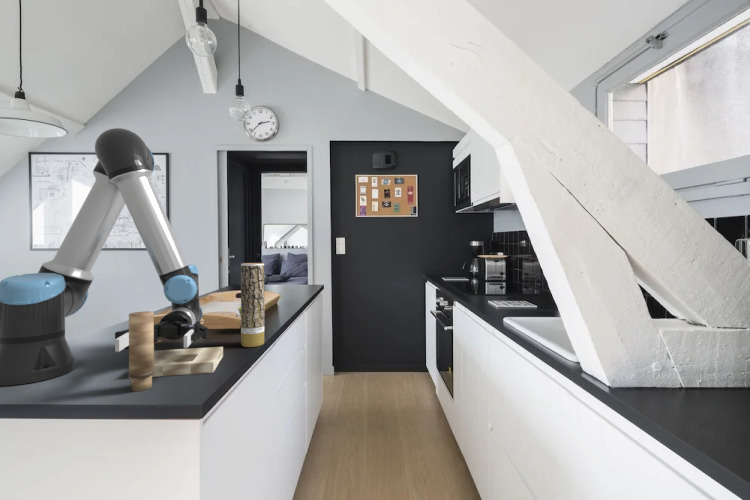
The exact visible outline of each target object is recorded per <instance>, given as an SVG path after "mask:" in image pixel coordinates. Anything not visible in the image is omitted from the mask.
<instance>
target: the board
mask: <svg viewBox="0 0 750 500" xmlns="http://www.w3.org/2000/svg"><path fill="white" fill-rule="evenodd" d="M223 357H224V346H215V347H211V346H210V347H197V348H195V347H194V348H193V347H192V348H178V349H175V348H174V349H162V350H161V349H160V350H157V349H156V350H154V374H152V378H154V377H169V376H183V375H185V376H186V375H195V374H209V373H210V374H211V373H214V372H215V371H216V369H217V367H218V366H219V363H220V362H221V360H222V359H223ZM128 379H131V378H130V377H129V376H128Z"/></svg>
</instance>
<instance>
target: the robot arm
mask: <svg viewBox="0 0 750 500" xmlns="http://www.w3.org/2000/svg"><path fill="white" fill-rule="evenodd" d="M94 152H95V155H96V158H97V160H98V161H97V163H96V165H94V166H95V167H94V169H93V170H92V174H93V176H94V178H95V181H94V183H93V184H92V187H91V189H90V190H89V192H88V194H87V196H86V198H85V200H84V201H83V203H82V205H81V207H80V209H79V211H78V213H77V215H76V217H75V218H74V220H73V222H72V224H71V226H70V227H69V229H68V232H67V233H66V235H65V237H64V239H63V241H62V242H61V245H60V246H59V248H58V249H57V252H56V254H55V256H54V257H53V259H51V260H49V261H46V262H43V263H42V264H41V266H40V268H39V270H38V272H33V273H23V274H21V275H20V274H18V275H12V276H8V277H5V278H3V279H2V280H0V386H3V387H5V386H17V385H25V384H32V383H37V382H41V381H46V380H50V379H51V380H52V379H54V378H57V377H60V376H63V375H66V374H68V373H70V372H72V371H73V370H75V357H74V355H73V352H72V350H71V348H70V346H69V343H68V341H67V339H66V318H67V317H71V316H73V315H74V314H76V313H78V311H79V310H80V309H82V308H83V307H84V306H85V304H86V302H87V300H88V296H89V288H90V286H91V285H92V283H93V281H94V276H93V275H92V272H91V270H92V269H93V266H94V265H95V264H96V261H97V259H98V257H99V255H100V253H101V252H102V249H103V248H104V246H105V244H106V242H107V239H108V238H109V236H110V235H111V232H112V230H113V228H114V226H115V224H116V223H117V220H118V218H119V217H120V215H121V213H122V211H123V209H124V207H125V206H126V208H127V209H128V212H129V215H130V217H131V219H132V221H133V223H134V225H135V228H136V230H137V232H138V233H139V234H138V235H139V236H140V239H141V241H142V242H143V245H144V247H145V250H146V251H147V254H148V256H149V258H150V260H151V262H152V264H153V266H154V270H155V271H156V273H157V275H158V278H159V280H160V283H161V285H162V287H163V294H164V296H165V299H167V301H169V302H171V311H169V312H168V313H167V314H165V315H164V316H163V317H162V318H161V319H160V321H159V322H158V323H154V339H159V338H164V339H166V340H169V341H178V340H181V339H183V349H189V347H190V346H191V344H193V342H196V341H199V340H200V338H201V339H204V340H206V339H208V338H209V328H208V327H207V326H206V325H203V324H202V323H201V320H202V318H203V314H204V311H203V308H202V307H201V306H200V303H201V302H200V293H199V290H200V286H199V270H198V266H197V265H195V264H188V262H187V260H186V257H185V255H184V252H183V250H182V248H181V245H180V244H179V242H178V239H177V237H176V234H175V233H174V230H173V229H172V225H171V223H170V220H169V218H168V216H167V214H166V212H165V210H164V208H163V205H162V203H161V200H160V199H159V196H158V193H157V191H156V189H155V186H154V184H153V182H152V180H151V178H150V177H151V176H152V173H153V172H154V168H155V158H154V154H153V153H152V151H151V149H150V148H149V147H148V146H147V145H146V143H145V142H144V140H143V139H142V138H141V136H139V135H138V134H136V133H135V132H133V131H131V130H129V129H126V128H120V127H119V128H118V127H114V128H110V129H107V130H105V131H103V132H101V134H100V135H99V136H98V137H97V138H96V140H95V144H94ZM128 345H129V328H127V329H122V330H119V331H115V332H114V352H115V353H120V352H121V351H122V350H124V348H125V347H127V346H128Z"/></svg>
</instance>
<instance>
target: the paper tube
mask: <svg viewBox="0 0 750 500" xmlns="http://www.w3.org/2000/svg"><path fill="white" fill-rule="evenodd" d="M264 306H265V263H264V262H243V263H241V264H240V307H241V316H240V344H241V346H242V347H244V348H255V347H256V348H257V347H260V346H263V345H264V343H265V308H264Z"/></svg>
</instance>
